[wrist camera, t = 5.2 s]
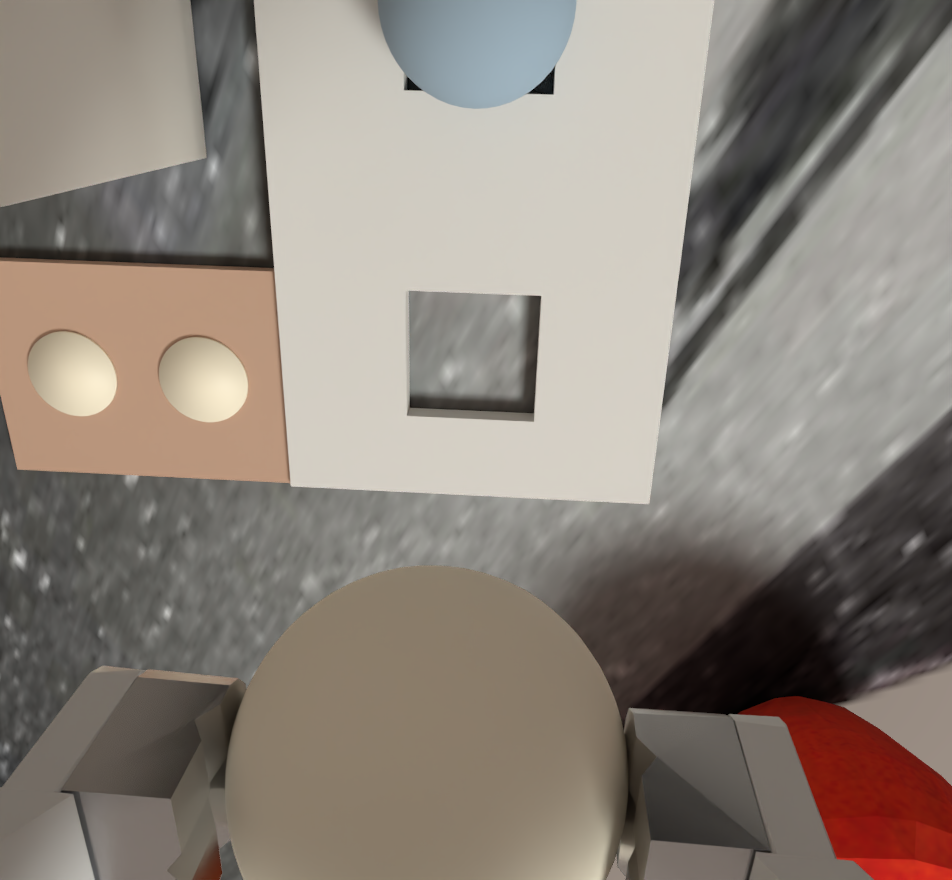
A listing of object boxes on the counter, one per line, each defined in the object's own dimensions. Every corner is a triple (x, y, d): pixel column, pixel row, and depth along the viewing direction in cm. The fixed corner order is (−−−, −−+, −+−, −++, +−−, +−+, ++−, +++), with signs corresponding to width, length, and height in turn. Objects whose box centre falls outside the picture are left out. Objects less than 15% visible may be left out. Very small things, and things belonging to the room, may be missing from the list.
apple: (717, 593, 24) (798, 810, 17) (970, 692, 25) (1148, 937, 18) (587, 792, 28) (608, 1040, 20) (812, 872, 29) (908, 1136, 21)
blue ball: (578, -95, 17) (591, -142, 14) (565, 108, 19) (574, 115, 15) (391, -98, 17) (356, -146, 14) (394, 103, 19) (363, 108, 15)
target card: (280, 268, 21) (275, 272, 20) (296, 476, 23) (291, 484, 23) (-21, 256, 21) (-34, 260, 21) (25, 463, 24) (15, 470, 23)
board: (246, -216, 17) (236, -226, 16) (735, -209, 16) (742, -219, 16) (296, 476, 23) (290, 486, 23) (646, 493, 23) (649, 504, 22)
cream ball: (629, 508, 9) (685, 799, 5) (598, 767, 11) (623, 1124, 7) (280, 487, 9) (112, 750, 6) (303, 745, 11) (184, 1077, 7)
